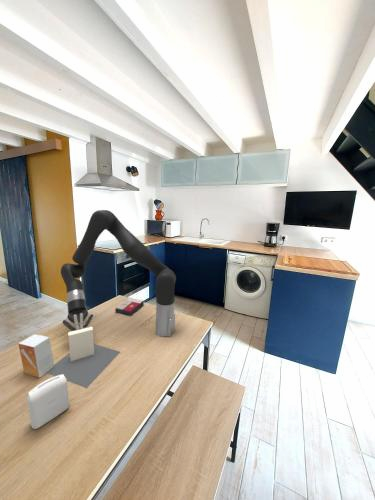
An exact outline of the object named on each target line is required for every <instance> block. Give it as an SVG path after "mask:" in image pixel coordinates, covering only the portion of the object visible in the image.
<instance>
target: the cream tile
mask: <svg viewBox="0 0 375 500" xmlns="http://www.w3.org/2000/svg"><path fill="white" fill-rule="evenodd" d="M67 335H68V347H69V353H70V360H71V361H74V360H77V359H80V358H83V357H87V356H90V355H93V354H94V344H95V343H94V342H95V341H94V327H93V326H89V327H88V326H87V328H84V329H80V328H79V330H76V331H68V333H67Z"/></svg>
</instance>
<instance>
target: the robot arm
mask: <svg viewBox="0 0 375 500" xmlns="http://www.w3.org/2000/svg"><path fill="white" fill-rule="evenodd" d="M105 230H106V231H108V233H110V234H111V235H112V236H113V237H114V238H115V239H116V240H117V242H118V244H119V245H120V247H121V249H122V250H123V252H124V254H126V256H128V257H129V259H131V260H132V261H133V262H135V263H136V264H138V265H140V266H141V267H143V268H145V269H147V270H149V271H150V272H151V274H153V275H154V277H155V278H156V279H155V298H156V303H155V305H156V307H155V334H156V335H158V336H159V337H172V335H173V333H174V332H175V326H176V313H175V301H176V300H175V298H176V297H175V288H176V287H175V285H176V281H177V276H176V274H175V272H174V271H173V270H172V269H170V268H169V267H168V266H167V265H165V264H164V263H163V262H161V260H159V258H158V257H156V255H154V253H153V252H152V251H150V250H149V248H148V247H147V246H146V245H145V244H144V243H143V242H141V241H140V239H138V238H137V237H136V236H135V235H134V233H132V232H131V231H130V230H129V229H127V227H125V225H124V224H123V223H122V222H121V221H120V219H118V217H117V216H116V215H115V214H114V213H113V212H112V211H111V210H108V209H107V210H106V209H105V210H104V209H101V210H99V209H98V210H96V211H94V212H93V213H92V214H91V216H90V218H89V221H88V225H87V228H86V229H85V232H84V234H83V237H82V238H81V241H80V243H79V245H78V246H77V248H76V249H75V251H74V253H73V255H72V257H71V258H72V261H73V262H74V263H70V262H69V263H68V262H67V263H64V264H63V265H61V268H60V276H61V278H62V280H63V282H64V284H65V287H66V303H67V304H66V305H67V313H68V314H67V317H66V318H65V319H64V320H62V324H63V326H65V327H66V328H67V329H68V330H70V332H72V331H76V330H80V329H84V328H88V326H89V324H90V323H91V321H92V319H93V317H94V314H93V313H92V314H91V313H90V312H88V310H87V304H86V303H87V302H86V296H85V293H84V286H83V282H82V280H80V278H82V277H83V276H84V274H85V272H86V267H87V263H88V261H89V259H90V258H91V256H92V254H93V253H94V250H95V246H96V243H97V241H98V238H99V237H100V236H101V234H103V232H105ZM86 319H87V320H86ZM85 320H86V321H85ZM70 322H71V323H72V324H71V323H70ZM84 322H85V323H84ZM73 324H74V326H73Z"/></svg>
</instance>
